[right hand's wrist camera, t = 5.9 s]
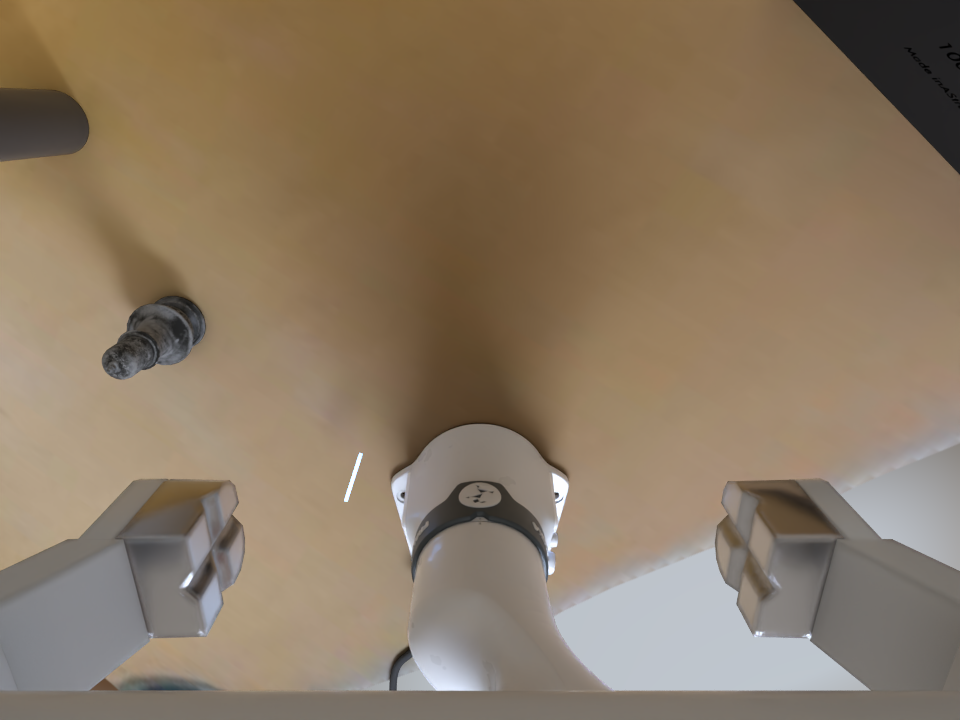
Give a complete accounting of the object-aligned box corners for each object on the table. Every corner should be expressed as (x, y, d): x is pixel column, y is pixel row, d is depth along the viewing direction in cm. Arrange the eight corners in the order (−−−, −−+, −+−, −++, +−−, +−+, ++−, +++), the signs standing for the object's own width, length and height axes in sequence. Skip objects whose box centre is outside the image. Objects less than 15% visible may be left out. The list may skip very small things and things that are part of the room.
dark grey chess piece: (136, 328, 60) (57, 379, 49) (162, 280, 58) (87, 321, 47) (191, 362, 61) (127, 418, 50) (219, 316, 59) (159, 364, 48)
